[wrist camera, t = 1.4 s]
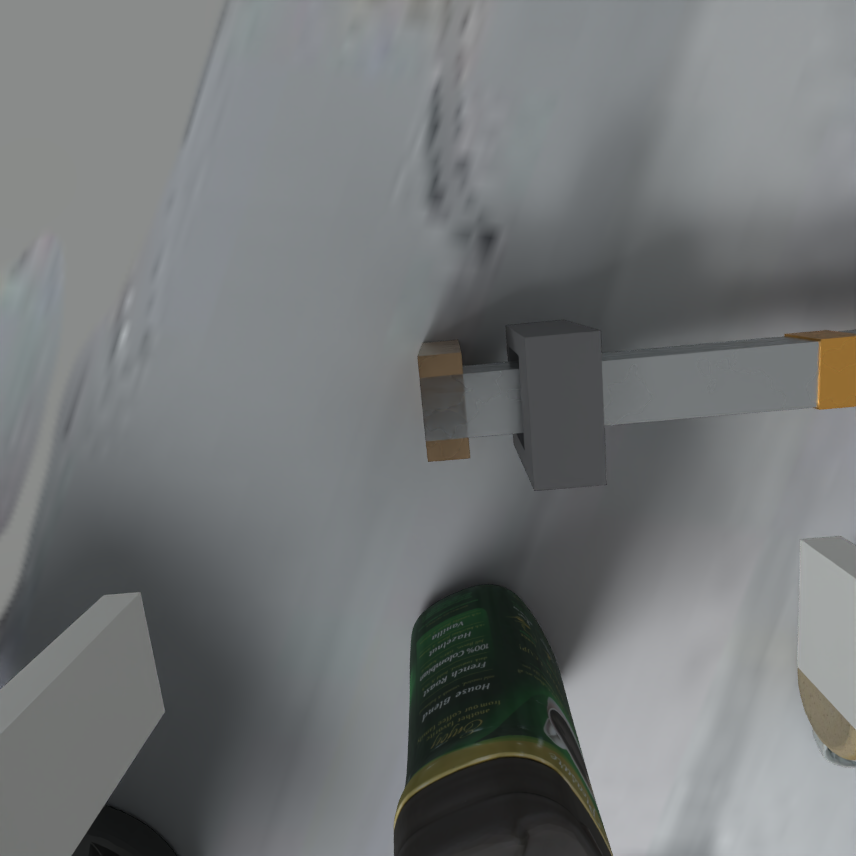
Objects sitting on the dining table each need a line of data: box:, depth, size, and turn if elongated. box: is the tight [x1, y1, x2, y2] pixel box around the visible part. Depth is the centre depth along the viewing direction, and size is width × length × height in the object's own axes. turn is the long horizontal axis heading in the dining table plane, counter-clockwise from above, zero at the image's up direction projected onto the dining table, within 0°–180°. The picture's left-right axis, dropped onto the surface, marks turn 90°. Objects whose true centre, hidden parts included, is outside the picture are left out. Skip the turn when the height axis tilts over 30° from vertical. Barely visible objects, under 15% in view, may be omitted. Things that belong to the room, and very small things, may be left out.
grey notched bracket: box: [506, 320, 607, 491], centre depth 31 cm, size 3×6×8 cm, turn 5°
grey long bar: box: [417, 330, 856, 462], centre depth 33 cm, size 26×5×7 cm, turn 95°
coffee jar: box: [394, 585, 613, 856], centre depth 32 cm, size 10×8×19 cm
